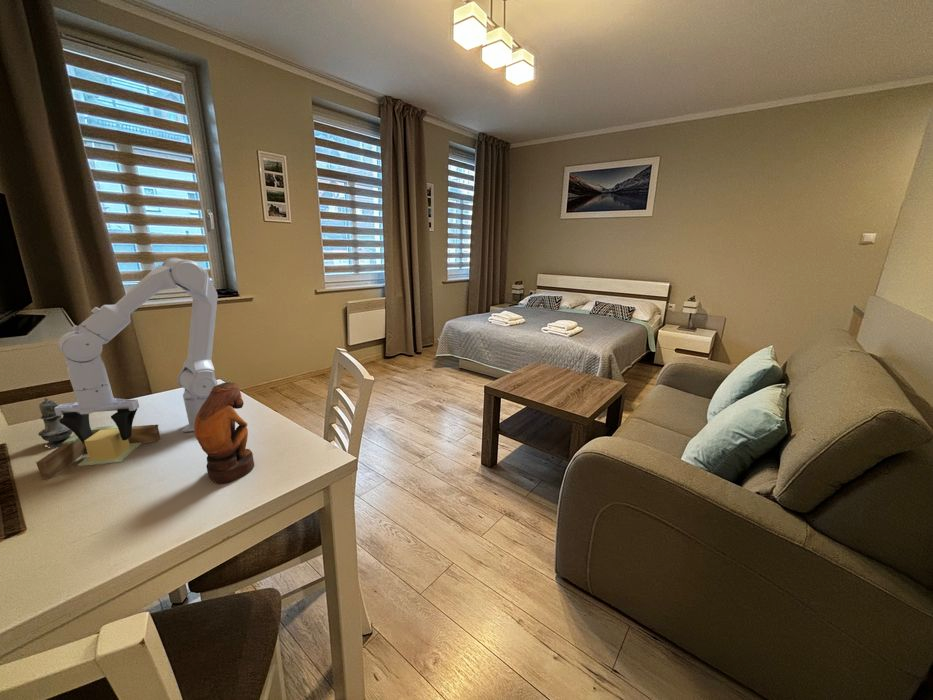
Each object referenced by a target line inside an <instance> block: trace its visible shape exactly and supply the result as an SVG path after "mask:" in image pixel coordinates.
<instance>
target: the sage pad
mask: <svg viewBox="0 0 933 700" xmlns="http://www.w3.org/2000/svg"><path fill="white" fill-rule="evenodd" d="M129 444H130V447H129V448H128V449H127V450H126V451H125V452H123V453H122V454H121V455H120V456H119V457H117V458H116V459H104V460H91V461H90V459H89V456H87V457H86V458H85V459H84V460H82V461H81V462H80V463H78V464H77V466H78V467H82V466H92V465H104V464H115V463H117V464H118V463H122V462H124V460H125V459H126V458H127V457H129V455H131V454H132V453H133V452H135V450H136V449H137V448H138V447H140V446H141V445H142V444H143V443H129Z"/></svg>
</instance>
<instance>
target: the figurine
mask: <svg viewBox="0 0 933 700" xmlns="http://www.w3.org/2000/svg"><path fill="white" fill-rule="evenodd" d="M242 397H243V396H242V392H241V389H240V387H238V385H237V383H235V382H230V381H229V382H222V383H219V384H217V386H214V387H213V388H212V391H211V393H210V394H209V396H208V398H207V399H206V401H205V402H204V403H203V405H202V406H201V408H200V410H199V412H198V413H197V415H196V418H195V423H194V431H193V432H194V436H195V438H196V440H197V442H198V444H199V446H200V448H201V450H202V451H203V452H204V453H205V454H206V455H207V456H206V465H205V466H206V467H205V468H206V471H207V475H208V479H209V480H210V482H211V483H213V484H225V483H229V482H233V481H235V480H237V479H238V478H241V477H243V476H245V475H247V474H249V473H250V472H251V471H253V468H254V467H255V461H254V454H253V452H252V450H251V449H250V448H246V446H247V442H248V435H249V430H248V423H247V422H246V421H245V420H244V419H243V418H242V417H241V416H240V415H239V414H238V412H237V411H236V410H235V409H237V410H238V409H242V408H243V406H244V399H243V398H242ZM236 424H238V426H236Z"/></svg>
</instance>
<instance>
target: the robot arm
mask: <svg viewBox="0 0 933 700" xmlns="http://www.w3.org/2000/svg"><path fill="white" fill-rule="evenodd" d="M178 287H180V288H181V289H182V290H183V291H185V293H187V294H188V295H189V297H191V299H192V303H191V304H192V305H191V312H190V313H191V315H190V325H189V333H188V334H189V335H188V336H189V337H188V346H187V357H186V359H185V361H184V362H183V363H182V364H183V365H182V369H181V371H180V372H179V373H178V375H177V382H178V385H179V386H180V387H181V388H182V389H184V392H183V394H182V397H183V403H184V406H185V412H186V417H187V420H188V424H187V425H185V427H184V428H183V429H182V432H183V433H185V432H186V433H188V432H194V423H195V418H196V415H197V413H198V412H199V410H200V408H201V406H202V405H203V403H204V402H205V401H206V399H207V398H208V396H209V394H210V393H211V391H212V388H213V387H214V386H217V385H218V381H217V379H216V375H215V367H214V364H213V362H212V357H213V356H212V355H213V347H214V346H213V345H214V338H215V337H214V335H215V328H216V319H217V318H216V317H217V307H218V306H217V305H218V291H217V289H216V287H215V286H214V284H213V283H212V280H211V279H210V276H209V272H208V271H207V270H206V269H205V268H204V267H203V266H201V265H200V264H199V263H198V262H196V261H194V260H190V259H182V258H178V257H170V258H168V259H166V260H164V261H163V263H161V264H159V265H157V266H156V267H153V268H152V270H151V271H149V272H148V273H147V274H146V275H145V276H144V277H143V278H142V279H140V281H139V282H138V283H136V284H135V285H134V286H133V287H132V288H131V289H130V290H129V291H128V292H127V293H125V294H124V295H123V296H122V297H121V298H120V299H119V300H117V302H116V303H114V304H103V305H102V306H101V307H100V308H99V307H97V306H94V307H93V308H92V309H91V310H90V311H91V313H92V314H91V315H90V316H88V317H87V318H86V319H85V320H83V321H82V322H81V323H80V324H79V325H76V324H75V325H74V326H72V327H71V330H72V331H70V332H67V333H65V334H63V335H61V337H60V338H59V340H58V345H57V348H58V350H59V351H60V352H61V353H62V354H63V355H64V359H65V360H64V362H65V365H66V367H67V368H66V371H67V375H68V378H69V380H70V384H71V387H72V390H73V392H74V396H75V399H76V401H75V402H70V403H61V404H59V405H58V406H57V407H55V408H54V409H55V412H56V415H57V416H62V418H61V419H60V420H59V421H60V423H61V424H63V425H65V426H66V427H68V428H69V429H70V430H71V431H72V433H73V434H74V435H75V434H76V436H77V437H78V438H79V439H80V440H81V442H82V443H83V444H85V443H84V441H85V440H86V439H88V438H89V437H91V436H92V431H91V428H92V427H91V425H90V414H93V413H100V412H115V411H116V412H115V413H113V414H112V415H110V418H111V420H112V421H113V422H114V424H115V426H117V427H118V429H119V432H120V436H121V438H122V440H127V439H128V438H130V437H131V432H132V426H133V422H134V419H135V416H136V414H137V411H138V408H140V405H139V404H140V403H139V400H138V399H127V398H116V397H114V395H113V391H112V386H111V383H110V380H109V376H108V373H107V369H106V366H105V363H104V362H103V360H102V357H101V354H102V352H103V348H104V346H103V345H106V344H108V343H109V342H110V341H111V340H113V339H114V338H115V337H116V336H117V335H118V334H119V333H120V332H121V331H123V330H124V329H125V328H127V326H129V325H130V324H131V323H132V321H131V320H132V319H131V314H133V312H135V311H136V310H138V308H140V307H141V306H143V305H144V304H145V303H147V302H148V301H149V300H150V299H151V298H152V297H154V296H155V295H156V294H158V293H159V292H161V291H165V290H172V289H176V288H177V289H178Z"/></svg>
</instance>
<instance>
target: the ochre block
mask: <svg viewBox="0 0 933 700" xmlns="http://www.w3.org/2000/svg"><path fill="white" fill-rule="evenodd" d="M84 443H85V446H86V449H87V452H86V453H87V455H88V457H89V459H90V461H91V460H104V459H116V458H117V457H119V456H120V455H121V454H122V453H123V452H125V451H126V450H127V449H128V448H129V447H130V444H129V440H128V439H127V440H122V438H121V436H120V432H119V429H107V430H100V431H98V432H97V433H95V434H94V435H92V436H91V437H89V438H88V439H86V440H85V441H84Z"/></svg>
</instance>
